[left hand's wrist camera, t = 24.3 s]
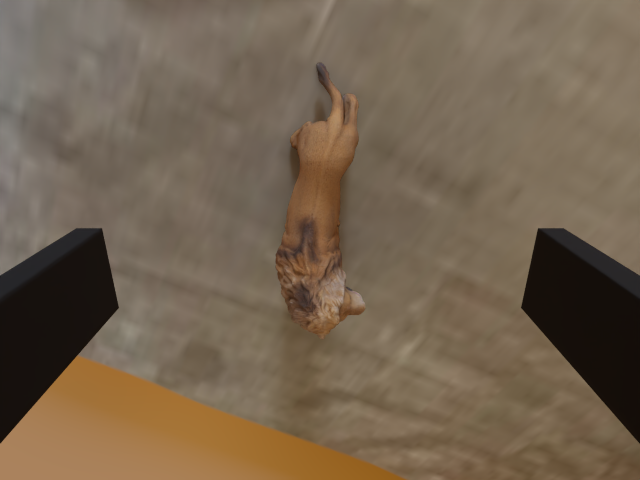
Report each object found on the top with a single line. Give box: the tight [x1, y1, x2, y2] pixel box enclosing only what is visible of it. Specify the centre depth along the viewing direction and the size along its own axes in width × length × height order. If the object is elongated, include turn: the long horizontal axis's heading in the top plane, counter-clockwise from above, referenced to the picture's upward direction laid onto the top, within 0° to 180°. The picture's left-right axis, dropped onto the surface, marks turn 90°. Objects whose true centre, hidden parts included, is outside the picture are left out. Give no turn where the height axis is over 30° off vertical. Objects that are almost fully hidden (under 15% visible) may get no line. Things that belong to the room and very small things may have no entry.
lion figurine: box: [276, 63, 366, 339], centre depth 19 cm, size 12×4×7 cm, turn 1°
